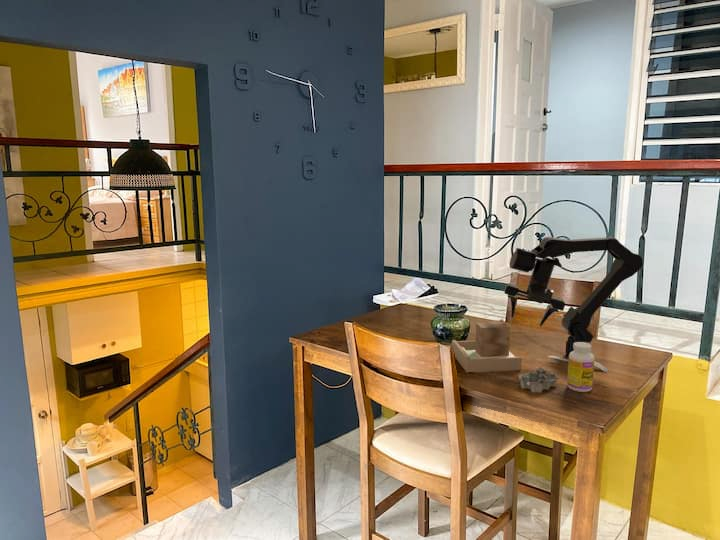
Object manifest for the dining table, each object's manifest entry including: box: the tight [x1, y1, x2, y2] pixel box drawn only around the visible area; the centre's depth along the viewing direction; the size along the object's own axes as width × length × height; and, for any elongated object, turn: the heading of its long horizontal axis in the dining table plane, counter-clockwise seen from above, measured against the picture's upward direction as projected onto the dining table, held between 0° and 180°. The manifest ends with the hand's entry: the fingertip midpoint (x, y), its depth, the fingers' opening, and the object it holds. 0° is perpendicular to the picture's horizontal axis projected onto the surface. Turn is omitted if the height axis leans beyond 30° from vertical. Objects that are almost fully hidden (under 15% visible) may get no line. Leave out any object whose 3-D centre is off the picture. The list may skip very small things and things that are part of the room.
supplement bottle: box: [566, 342, 595, 393], centre depth 152 cm, size 7×7×13 cm
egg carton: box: [517, 367, 560, 393], centre depth 155 cm, size 11×8×4 cm
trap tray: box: [451, 339, 522, 374], centre depth 175 cm, size 17×18×5 cm
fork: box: [547, 355, 609, 373], centre depth 172 cm, size 3×21×3 cm, turn 43°
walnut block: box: [475, 321, 511, 357], centre depth 175 cm, size 9×6×10 cm, turn 95°
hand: (526, 321), depth 177 cm, fingers open, 9 cm apart
